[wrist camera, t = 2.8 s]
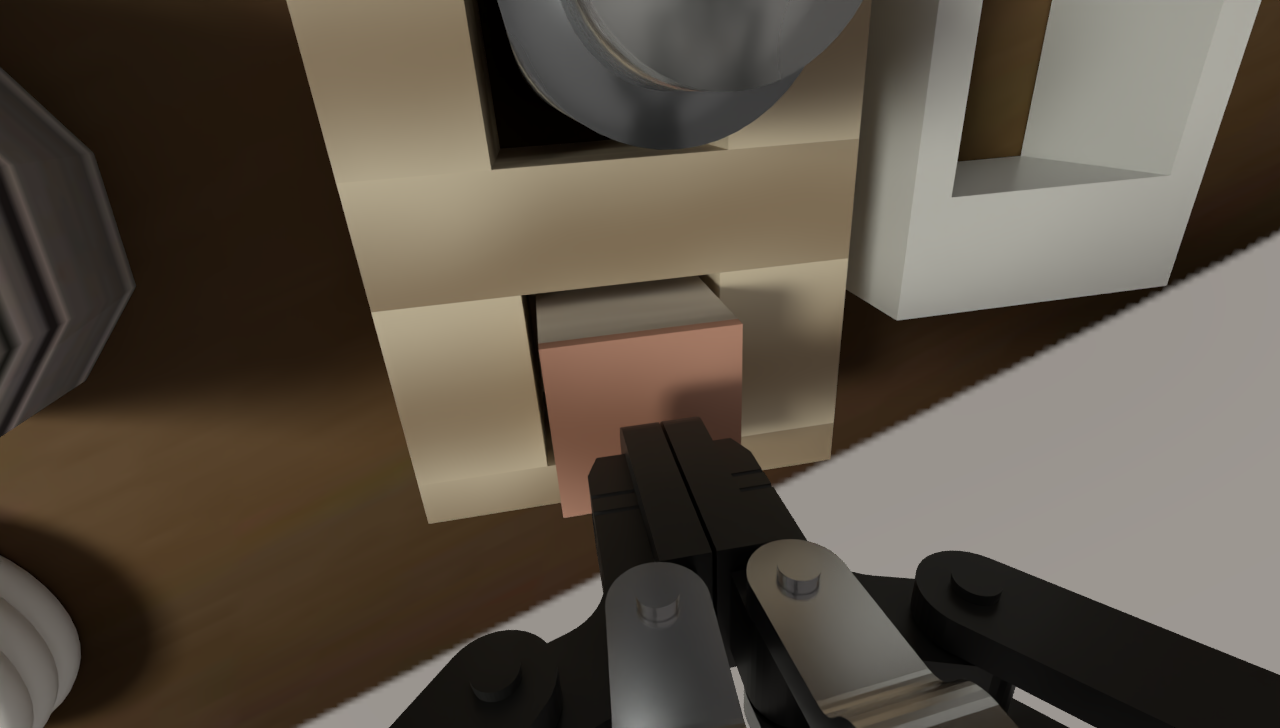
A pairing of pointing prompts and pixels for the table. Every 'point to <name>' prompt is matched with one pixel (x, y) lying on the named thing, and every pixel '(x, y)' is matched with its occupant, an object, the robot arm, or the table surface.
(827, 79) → the socket block
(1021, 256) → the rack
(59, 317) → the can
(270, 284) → the table surface
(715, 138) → the stepped metal cylinder
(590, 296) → the key
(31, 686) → the white round container
